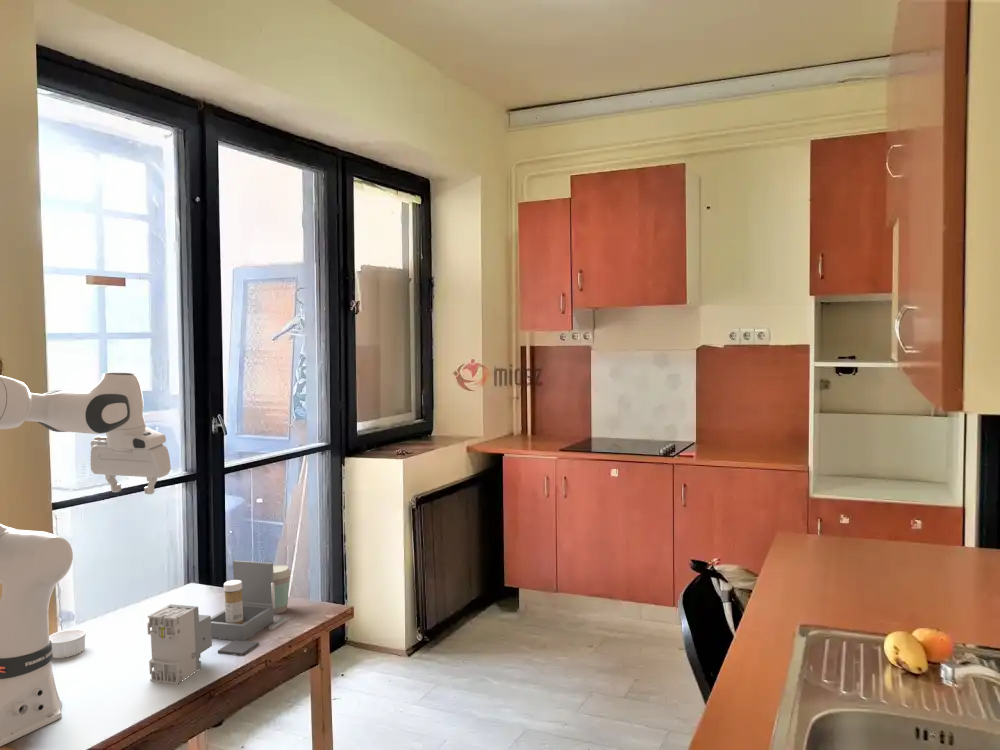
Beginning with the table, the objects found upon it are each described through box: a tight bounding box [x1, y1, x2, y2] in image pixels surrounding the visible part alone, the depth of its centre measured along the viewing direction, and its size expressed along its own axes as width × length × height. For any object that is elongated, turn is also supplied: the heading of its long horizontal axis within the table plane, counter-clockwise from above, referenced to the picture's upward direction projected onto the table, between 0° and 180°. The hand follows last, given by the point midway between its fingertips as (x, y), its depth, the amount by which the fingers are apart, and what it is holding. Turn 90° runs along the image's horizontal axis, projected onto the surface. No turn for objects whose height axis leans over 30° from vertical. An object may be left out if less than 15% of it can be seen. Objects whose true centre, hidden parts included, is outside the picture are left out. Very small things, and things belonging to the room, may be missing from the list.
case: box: [211, 559, 275, 641], centre depth 212 cm, size 15×13×16 cm
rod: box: [268, 617, 288, 631], centre depth 214 cm, size 7×1×1 cm, turn 164°
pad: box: [217, 640, 260, 656], centre depth 199 cm, size 7×7×1 cm
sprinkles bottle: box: [223, 579, 244, 624], centre depth 210 cm, size 5×5×13 cm
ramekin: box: [49, 628, 87, 659], centre depth 199 cm, size 9×9×4 cm
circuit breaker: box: [146, 603, 213, 685], centre depth 187 cm, size 8×14×15 cm, turn 164°
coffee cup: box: [273, 564, 292, 615], centre depth 225 cm, size 8×8×12 cm
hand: (133, 492), depth 194 cm, fingers open, 8 cm apart
